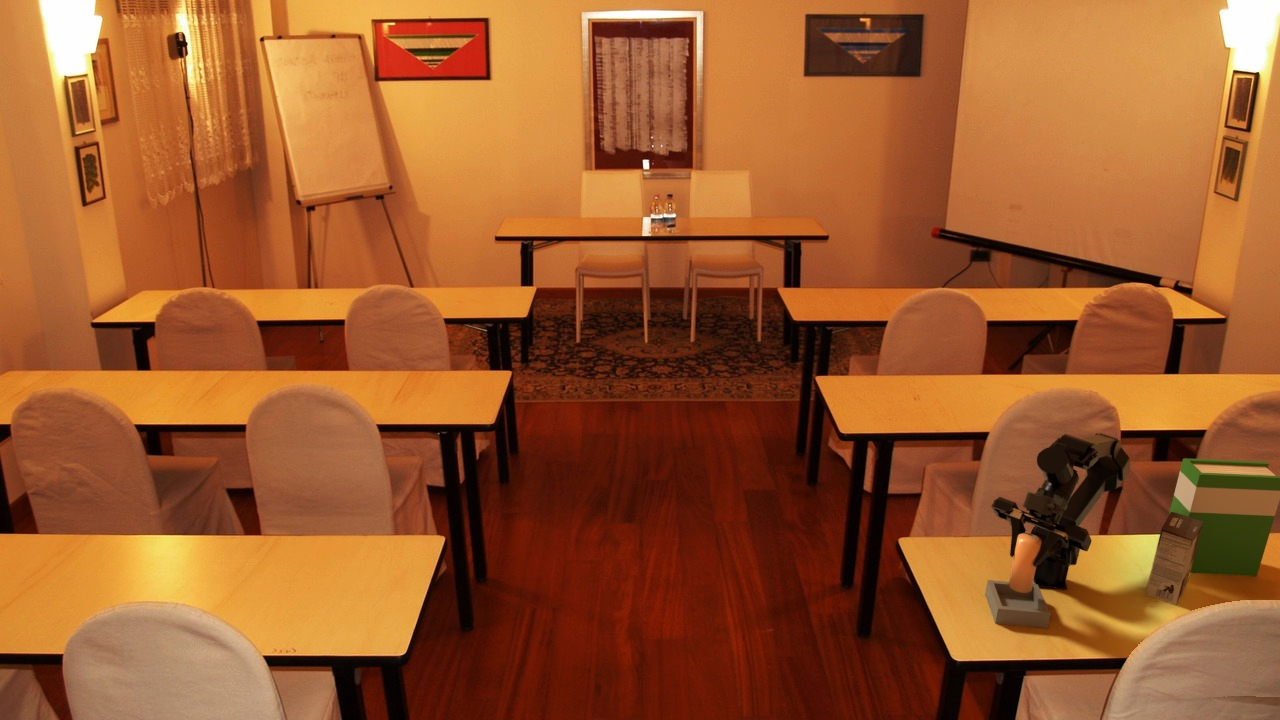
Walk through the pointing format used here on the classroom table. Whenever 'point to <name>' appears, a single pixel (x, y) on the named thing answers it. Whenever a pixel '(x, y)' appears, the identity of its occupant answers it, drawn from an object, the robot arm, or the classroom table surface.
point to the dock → (1017, 605)
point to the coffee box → (1174, 558)
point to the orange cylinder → (1024, 562)
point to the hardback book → (1228, 512)
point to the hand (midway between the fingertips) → (1022, 561)
